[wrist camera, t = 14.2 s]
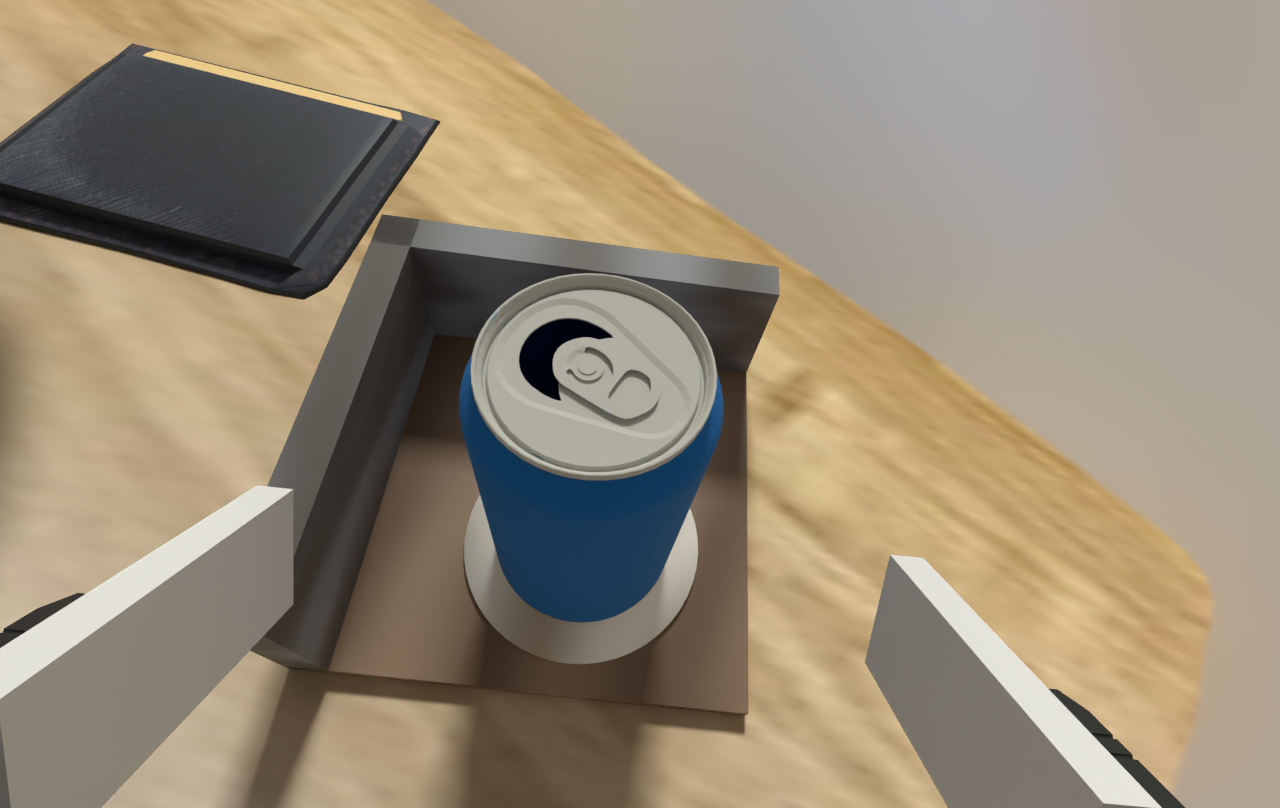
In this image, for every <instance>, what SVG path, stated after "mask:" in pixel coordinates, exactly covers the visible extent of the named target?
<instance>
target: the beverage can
mask: <svg viewBox="0 0 1280 808" xmlns="http://www.w3.org/2000/svg"><path fill="white" fill-rule="evenodd" d="M723 407H724V405H723V396H722V388H721V384H720V381H719V377H718V374H717V370H716V362H715V358H714V355H713V351H712V348H711V346H710V344H709V342H708V339H707V337H706V336H705V334H704V332H703V331H702V329H701V327H700V326H699V325H698V323H697V322H696V321H695V320H694V318H693V317H692V316H691V315H690V314H689V313H688V312H687V311H686V310H685V309H684V308H683V307H682V306H681V305H679V304H678V303H677V302H675V301H674V300H673V299H671V298H670V297H669V296H667V295H665V294H664V293H662V292H660V291H659V290H657V289H654V288H652V287H650V286H648V285H646V284H643V283H641V282H638V281H635V280H632V279H628V278H624V277H620V276H615V275H607V274H594V273H583V274H571V275H564V276H558V277H555V278H551V279H547V280H544V281H541V282H539V283H536V284H534V285H531V286H529V287H527V288H525V289H523V290H522V291H520V292H518V293H517V294H515V295H514V296H512V297H511V298H509V299H508V300H507V301H505V302H504V303H503V304H502V305H501V306H500V307H499V308H498V309H497V310H496V311H495V312H494V313H493V314H492V315H491V317H490V318H489V319H488V320H487V322H486V323H485V325H484V326H483V328H482V330H481V332H480V334H479V336H478V338H477V340H476V343H475V346H474V350H473V353H472V355H471V357H470V359H469V362H468V364H467V366H466V368H465V371H464V375H463V378H462V382H461V386H460V394H459V417H460V423H461V428H462V432H463V436H464V439H465V443H466V447H467V450H468V454H469V457H470V461H471V464H472V468H473V471H474V475H475V478H476V482H477V485H478V489H479V492H480V496H481V500H482V503H483V507H484V510H485V514H486V517H487V521H488V524H489V528H490V531H491V535H492V538H493V542H494V545H495V549H496V553H497V556H498V560H499V563H500V566H501V568H502V571H503V574H504V575H505V577H506V579H507V581H508V583H509V584H510V586H511V587H512V588H513V590H514V591H515V592H516V594H517V595H518V596H519V597H520V598H521V599H522V600H523V601H525V602H526V603H527V604H528V605H530V606H531V607H532V608H534V609H536V610H537V611H539V612H541V613H543V614H545V615H547V616H550V617H552V618H555V619H559V620H563V621H569V622H577V623H579V622H595V621H601V620H605V619H608V618H612V617H614V616H617V615H619V614H621V613H623V612H625V611H627V610H628V609H630V608H632V607H633V606H635V605H636V604H637V603H638V602H639V601H641V600H642V599H643V598H644V597H645V596H646V595H647V594H648V593H649V592H650V591H651V589H652V588H653V586H654V585H655V584H656V582H657V581H658V579H659V577H660V575H661V573H662V571H663V569H664V566H665V564H666V562H667V560H668V557H669V555H670V553H671V550H672V548H673V546H674V543H675V541H676V539H677V537H678V534H679V532H680V530H681V527H682V525H683V523H684V520H685V518H686V516H687V513H688V511H689V509H690V507H691V504H692V502H693V500H694V497H695V495H696V493H697V490H698V488H699V486H700V484H701V481H702V479H703V477H704V474H705V472H706V470H707V467H708V465H709V463H710V461H711V458H712V456H713V454H714V451H715V449H716V446H717V443H718V440H719V437H720V435H721V429H722V424H723Z"/></svg>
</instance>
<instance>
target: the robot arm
mask: <svg viewBox="0 0 1280 808" xmlns="http://www.w3.org/2000/svg"><path fill="white" fill-rule="evenodd" d="M292 605H293V489H286V488H277V487H268V486H259V485H257V486H255V487H254V488H252V489H250V490H249V491H247V492H246V493H244V494H243V495H241V496H239V497H238V498H236V499H235V500H233V501H231V502H230V503H228V504H227V505H225V506H224V507H222V508H220V509H219V510H217V511H216V512H214V513H213V514H211V515H209V516H208V517H206V518H205V519H203V520H202V521H200V522H198V523H197V524H195V525H194V526H192V527H190V528H189V529H187V530H186V531H184V532H183V533H181V534H179V535H178V536H176V537H175V538H173V539H172V540H170V541H168V542H167V543H165V544H164V545H162V546H160V547H159V548H157V549H156V550H154V551H153V552H151V553H149V554H148V555H146V556H145V557H143V558H142V559H140V560H138V561H137V562H135V563H134V564H132V565H131V566H129V567H127V568H126V569H124V570H123V571H121V572H119V573H118V574H116V575H115V576H113V577H112V578H110V579H108V580H107V581H105V582H104V583H102V584H101V585H99V586H97V587H96V588H94V589H93V590H91V591H90V592H88V593H86V594H83V593H77V594H74V595H71V596H69V597H66V598H64V599H61V600H58V601H56V602H53V603H51V604H48V605H45V606H43V607H40V608H38V609H36V610H34V611H32V612H31V613H29V614H27V615H26V616H24V617H23V618H21V619H19V620H18V621H16V622H14V623H13V624H11V625H9V626H8V627H6V628H4V631H3V633H0V808H101V807H102V806H103V805H104V804H105V803H106V802H107V801H108V800H109V799H110V798H111V797H112V796H113V794H114V793H115V792H116V791H117V790H118V789H119V788H120V787H121V786H122V785H123V784H124V783H125V782H126V781H127V780H128V779H129V778H130V776H131V775H132V774H133V773H134V772H135V771H136V770H137V769H138V768H139V767H140V766H141V765H142V764H143V763H144V762H145V761H146V760H147V758H148V757H149V756H150V755H151V754H152V753H153V752H154V751H155V750H156V749H157V748H158V747H159V746H160V745H161V744H162V743H163V742H164V741H165V739H166V738H167V737H168V736H169V735H170V734H171V733H172V732H173V731H174V730H175V729H176V728H177V727H178V726H179V725H180V724H181V723H182V721H183V720H184V719H185V718H186V717H187V716H188V715H189V714H190V713H191V712H192V711H193V710H194V709H195V708H196V707H197V706H198V705H199V704H200V702H201V701H202V700H203V699H204V698H205V697H206V696H207V695H208V694H209V693H210V692H211V691H212V690H213V689H214V688H215V687H216V686H217V684H218V683H219V682H220V681H221V680H222V679H223V678H224V677H225V676H226V675H227V674H228V673H229V672H230V671H231V670H232V669H233V668H234V667H235V665H236V664H237V663H238V662H239V661H240V660H241V659H242V658H243V657H244V656H245V655H246V654H247V653H248V652H249V651H250V650H251V649H252V647H253V646H254V645H255V644H256V643H257V642H258V641H259V640H260V639H261V638H262V637H263V636H264V635H265V634H266V633H267V632H268V631H269V629H270V628H271V627H272V626H273V625H274V624H275V623H276V622H277V621H278V620H279V619H280V618H281V617H282V616H283V615H284V614H285V613H286V612H287V610H288V609H289V608H290V607H291V606H292ZM865 663H866V665H867V667H868V669H869V670H870V672H871V674H872V676H873V677H874V679H875V681H876V682H877V684H878V686H879V688H880V689H881V691H882V693H883V695H884V696H885V698H886V700H887V702H888V703H889V705H890V707H891V709H892V710H893V712H894V714H895V716H896V717H897V719H898V721H899V723H900V724H901V726H902V728H903V730H904V731H905V733H906V735H907V737H908V738H909V740H910V742H911V744H912V745H913V747H914V749H915V751H916V752H917V754H918V756H919V758H920V759H921V761H922V763H923V765H924V766H925V768H926V770H927V772H928V773H929V775H930V777H931V779H932V780H933V782H934V784H935V786H936V787H937V789H938V791H939V792H940V794H941V796H942V798H943V799H944V801H945V803H946V805H947V806H948V808H1185V807H1184V806H1183V805H1182V804H1181V803H1180V802H1179V801H1178V800H1177V799H1176V798H1175V797H1174V796H1173V795H1172V794H1171V793H1170V792H1169V791H1168V790H1167V789H1166V788H1165V787H1164V786H1163V785H1162V784H1161V783H1160V782H1159V781H1158V780H1157V779H1156V778H1155V777H1154V776H1153V775H1152V774H1151V773H1150V772H1149V771H1148V770H1147V769H1146V768H1145V767H1144V766H1143V765H1142V764H1141V763H1140V762H1139V761H1138V760H1134V759H1133V757H1132V754H1131V753H1130V752H1129V751H1128V750H1127V749H1126V748H1125V747H1124V746H1123V745H1122V744H1121V743H1120V742H1119V741H1118V740H1116V739H1113V737H1112V736H1113V735H1112V734H1111V733H1110V732H1109V731H1108V730H1107V729H1106V728H1105V727H1104V726H1103V725H1102V724H1101V723H1100V722H1099V721H1098V720H1097V719H1096V718H1095V717H1094V716H1093V715H1092V714H1091V713H1090V712H1089V711H1088V710H1086V709H1085V708H1084V707H1082V706H1081V705H1079V704H1078V703H1076V702H1075V701H1073V700H1072V699H1070V698H1069V697H1067V696H1066V695H1064V694H1063V693H1062V692H1060V691H1059V690H1056V689H1048V688H1047V687H1046V686H1045V685H1044V684H1043V683H1042V682H1041V681H1040V680H1039V679H1038V678H1037V677H1036V675H1035V674H1034V673H1033V672H1032V671H1031V670H1030V669H1029V668H1028V667H1027V666H1026V665H1025V664H1024V663H1023V662H1022V661H1021V660H1020V659H1019V658H1018V657H1017V656H1016V655H1015V654H1014V652H1013V651H1012V650H1011V649H1010V648H1009V647H1008V646H1007V645H1006V644H1005V643H1004V642H1003V641H1002V640H1001V639H1000V638H999V637H998V636H997V635H996V634H995V633H994V632H993V630H992V629H991V628H990V627H989V626H988V625H987V624H986V623H985V622H984V621H983V620H982V619H981V618H980V617H979V616H978V615H977V614H976V613H975V612H974V611H973V610H972V609H971V607H970V606H969V605H968V604H967V603H966V602H965V601H964V600H963V599H962V598H961V597H960V596H959V595H958V594H957V593H956V592H955V591H954V590H953V589H952V588H951V587H950V585H949V584H948V583H947V582H946V581H945V580H944V579H943V578H942V577H941V576H940V575H939V574H938V573H937V572H936V571H935V570H934V569H933V568H932V567H931V566H930V565H929V564H928V562H927V561H926V560H925V559H924V558H916V557H907V556H898V555H890V558H889V562H888V566H887V571H886V575H885V579H884V583H883V588H882V592H881V596H880V600H879V605H878V609H877V613H876V617H875V622H874V626H873V630H872V634H871V639H870V643H869V647H868V651H867V656H866V660H865Z"/></svg>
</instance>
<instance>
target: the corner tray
mask: <svg viewBox="0 0 1280 808" xmlns="http://www.w3.org/2000/svg"><path fill="white" fill-rule="evenodd" d="M583 273H594V274H607V275H615V276H620V277H624V278H628V279H632V280H635V281H638V282H641V283H643V284H646V285H648V286H650V287H652V288H654V289H657V290H659V291H660V292H662V293H664V294H665V295H667V296H669V297H670V298H671V299H673V300H674V301H675V302H677V303H678V304H679V305H681V306H682V307H683V308H684V309H685V310H686V311H687V312H688V313H689V314H690V315H691V316H692V317H693V318H694V320H695V321H696V322H697V323H698V325H699V326H700V327H701V329H702V331H703V332H704V334H705V336H706V337H707V339H708V342H709V344H710V346H711V348H712V351H713V355H714V358H715V362H716V370H717V374H718V377H719V381H720V384H721V388H722V396H723V405H724V407H723V424H722V429H721V435H720V437H719V440H718V443H717V446H716V449H715V451H714V454H713V456H712V458H711V461H710V463H709V465H708V467H707V470H706V472H705V474H704V477H703V479H702V481H701V484H700V486H699V488H698V490H697V493H696V495H695V497H694V500H693V502H692V504H691V507H690V509H689V511H688V513H687V516H686V518H685V520H684V523H683V525H682V527H681V530H680V532H679V534H678V537H677V539H676V541H675V543H674V546H673V548H672V550H671V553H670V555H669V557H668V560H667V562H666V564H665V566H664V569H663V571H662V573H661V575H660V577H659V579H658V581H657V582H656V584H655V585H654V586H653V588H652V589H651V591H650V592H649V593H648V594H647V595H646V596H645V597H644V598H643V599H642V600H641V601H639V602H638V603H637V604H636V605H635V606H633V607H632V608H630V609H628V610H627V611H625V612H623V613H621V614H619V615H617V616H614V617H612V618H608V619H605V620H601V621H595V622H579V623H577V622H569V621H563V620H559V619H555V618H552V617H550V616H547V615H545V614H543V613H541V612H539V611H537V610H536V609H534V608H532V607H531V606H530V605H528V604H527V603H526V602H525V601H523V600H522V599H521V598H520V597H519V596H518V595H517V594H516V592H515V591H514V590H513V588H512V587H511V586H510V584H509V583H508V581H507V579H506V577H505V575H504V574H503V571H502V568H501V566H500V563H499V560H498V556H497V553H496V549H495V545H494V542H493V538H492V535H491V531H490V528H489V524H488V521H487V517H486V514H485V510H484V507H483V503H482V500H481V496H480V492H479V489H478V485H477V482H476V478H475V475H474V471H473V468H472V464H471V461H470V457H469V454H468V450H467V447H466V443H465V439H464V436H463V432H462V428H461V423H460V417H459V394H460V386H461V382H462V378H463V375H464V371H465V368H466V366H467V364H468V362H469V359H470V357H471V355H472V353H473V350H474V346H475V343H476V340H477V338H478V336H479V334H480V332H481V330H482V328H483V326H484V325H485V323H486V322H487V320H488V319H489V318H490V317H491V315H492V314H493V313H494V312H495V311H496V310H497V309H498V308H499V307H500V306H501V305H502V304H503V303H504V302H505V301H507V300H508V299H509V298H511V297H512V296H514V295H515V294H517V293H518V292H520V291H522V290H523V289H525V288H527V287H529V286H531V285H534V284H536V283H539V282H541V281H544V280H547V279H551V278H555V277H558V276H564V275H571V274H583ZM779 295H780V294H779V271H778V267H774V266H767V265H759V264H752V263H744V262H737V261H729V260H722V259H714V258H707V257H699V256H691V255H684V254H676V253H669V252H661V251H654V250H646V249H639V248H631V247H624V246H616V245H609V244H601V243H594V242H586V241H578V240H571V239H563V238H556V237H548V236H541V235H533V234H526V233H518V232H511V231H503V230H496V229H488V228H480V227H473V226H465V225H458V224H450V223H443V222H435V221H428V220H420V219H413V218H405V217H398V216H390V215H383V214H382V216H381V218H380V221H379V223H378V226H377V228H376V230H375V233H374V235H373V237H372V240H371V242H370V245H369V247H368V249H367V252H366V254H365V256H364V259H363V261H362V263H361V266H360V268H359V271H358V273H357V275H356V278H355V280H354V282H353V285H352V287H351V290H350V292H349V294H348V297H347V299H346V301H345V304H344V306H343V308H342V311H341V313H340V316H339V318H338V320H337V323H336V325H335V327H334V330H333V332H332V335H331V337H330V339H329V342H328V344H327V346H326V349H325V351H324V353H323V356H322V358H321V361H320V363H319V365H318V368H317V370H316V372H315V375H314V377H313V380H312V382H311V384H310V387H309V389H308V391H307V394H306V396H305V398H304V401H303V403H302V406H301V408H300V410H299V413H298V415H297V417H296V420H295V422H294V425H293V427H292V429H291V432H290V434H289V436H288V439H287V441H286V443H285V446H284V448H283V451H282V453H281V455H280V458H279V460H278V462H277V465H276V467H275V470H274V472H273V474H272V477H271V479H270V481H269V484H268V487H277V488H286V489H293V605H292V606H291V607H290V608H289V609H288V610H287V612H286V613H285V614H284V615H283V616H282V617H281V618H280V619H279V620H278V621H277V622H276V623H275V624H274V625H273V626H272V627H271V628H270V629H269V631H268V632H267V633H266V634H265V635H264V636H263V637H262V638H261V639H260V640H259V641H258V642H257V643H256V644H255V645H254V646H253V647H252V649H251V650H250V651H252V652H254V653H256V654H259V655H261V656H263V657H265V658H267V659H270V660H272V661H274V662H276V663H278V664H280V665H283V666H285V667H287V668H291V669H300V670H310V671H320V672H329V673H339V674H349V675H359V676H368V677H378V678H388V679H397V680H407V681H417V682H427V683H436V684H446V685H456V686H465V687H475V688H485V689H495V690H504V691H514V692H524V693H534V694H543V695H553V696H563V697H572V698H582V699H592V700H602V701H611V702H621V703H631V704H640V705H650V706H660V707H670V708H679V709H689V710H699V711H708V712H718V713H728V714H738V715H747V714H748V592H747V427H746V372H747V370H748V367H749V365H750V363H751V360H752V358H753V356H754V353H755V351H756V349H757V346H758V344H759V342H760V339H761V337H762V335H763V332H764V330H765V328H766V325H767V323H768V321H769V318H770V316H771V314H772V311H773V309H774V307H775V304H776V302H777V300H778V297H779Z"/></svg>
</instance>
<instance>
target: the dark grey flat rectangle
mask: <svg viewBox="0 0 1280 808" xmlns="http://www.w3.org/2000/svg"><path fill="white" fill-rule="evenodd" d="M439 123H440V121H438V120H435V119H431V118H428V117H424V116H421V115H418V114H414V113H411V112H407V111H403V110H399V109H394V108H390V107H385V106H381V105H376V104H372V103H367V102H363V101H359V100H355V99H351V98H347V97H343V96H339V95H335V94H331V93H327V92H323V91H319V90H315V89H311V88H307V87H303V86H299V85H295V84H291V83H287V82H283V81H279V80H275V79H272V78H268V77H264V76H260V75H256V74H252V73H248V72H244V71H240V70H236V69H232V68H228V67H224V66H220V65H216V64H212V63H208V62H204V61H200V60H196V59H192V58H188V57H184V56H180V55H176V54H172V53H168V52H164V51H160V50H156V49H152V48H148V47H144V46H140V45H136V44H131V45H130V46H129V47H127V48H126V49H125V50H124V51H122V52H121V53H120V54H119V55H117V56H116V57H115V58H113V59H112V60H110V61H109V62H107V63H106V64H104V65H103V66H101V67H100V68H98V69H97V70H95V71H94V72H92V73H91V74H90V75H88V76H87V77H86V78H84V79H83V80H82V81H81V82H79V83H78V84H77V85H75V86H74V87H73V88H71V89H70V90H69V91H67V92H66V93H65V94H63V95H62V96H61V97H59V98H58V99H57V100H56V101H54V102H53V103H52V104H50V105H49V106H48V107H46V108H45V109H44V110H42V111H41V112H40V113H38V114H37V115H36V116H35V117H33V118H32V119H31V120H29V121H28V122H27V123H25V124H24V125H23V126H22V127H20V128H19V129H18V130H16V131H15V132H14V133H12V134H11V135H10V136H8V137H7V138H6V139H5V140H3V141H2V142H1V143H0V221H3V222H7V223H11V224H15V225H19V226H23V227H27V228H31V229H35V230H39V231H43V232H47V233H51V234H55V235H59V236H63V237H67V238H71V239H75V240H79V241H83V242H87V243H91V244H95V245H99V246H103V247H107V248H111V249H115V250H119V251H123V252H127V253H130V254H134V255H138V256H141V257H145V258H148V259H152V260H156V261H159V262H163V263H166V264H170V265H174V266H177V267H181V268H184V269H188V270H192V271H195V272H199V273H202V274H206V275H210V276H213V277H217V278H220V279H224V280H228V281H231V282H234V283H238V284H241V285H245V286H248V287H251V288H255V289H258V290H261V291H265V292H268V293H273V294H279V295H285V296H291V297H297V298H302V299H305V298H307V297H309V296H311V295H313V294H315V293H316V292H318V291H320V290H322V289H324V288H326V287H328V285H329V284H330V283H331V281H332V280H333V279H334V277H335V276H336V275H337V274H338V272H339V271H340V270H341V268H342V267H343V266H344V264H345V263H346V262H347V260H348V259H349V257H350V256H351V254H352V253H353V251H354V250H355V248H356V246H357V245H358V243H359V242H360V240H361V239H362V237H363V236H364V234H365V233H366V231H367V230H368V228H369V227H370V225H371V224H372V222H373V220H374V219H375V217H376V216H377V214H378V213H379V211H380V210H381V208H382V207H383V205H384V204H385V202H386V201H387V199H388V198H389V196H390V195H391V193H392V192H393V191H394V189H395V188H396V186H397V185H398V183H399V182H400V181H401V179H402V178H403V176H404V175H405V174H406V172H407V171H408V169H409V168H410V166H411V165H412V164H413V162H414V161H415V159H416V158H417V157H418V155H419V153H420V152H421V150H422V149H423V147H424V146H425V144H426V142H427V141H428V139H429V138H430V136H431V135H432V133H433V132H434V130H435V129H436V128H437V126H438V125H439Z"/></svg>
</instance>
